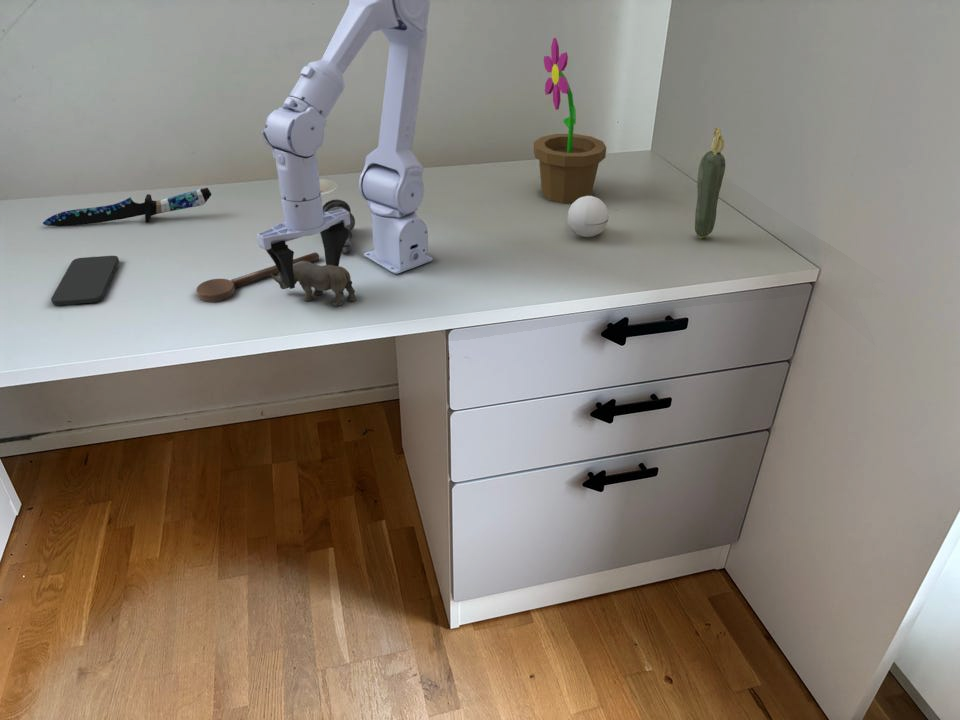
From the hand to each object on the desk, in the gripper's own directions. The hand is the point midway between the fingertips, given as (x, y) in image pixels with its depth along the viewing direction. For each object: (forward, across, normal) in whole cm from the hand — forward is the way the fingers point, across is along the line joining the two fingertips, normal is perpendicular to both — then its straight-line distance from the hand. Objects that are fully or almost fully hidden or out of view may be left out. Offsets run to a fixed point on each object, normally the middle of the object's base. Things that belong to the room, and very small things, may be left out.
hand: (311, 278), depth 118 cm
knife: (+3, +10, -48) cm, 49 cm away
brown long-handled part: (+3, +4, -11) cm, 12 cm away
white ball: (+3, -51, +13) cm, 53 cm away
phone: (+3, +25, -28) cm, 38 cm away
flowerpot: (+3, -62, -4) cm, 62 cm away
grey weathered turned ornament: (0, -17, -19) cm, 26 cm away
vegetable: (+3, -64, +27) cm, 70 cm away
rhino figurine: (+3, 0, 0) cm, 4 cm away
